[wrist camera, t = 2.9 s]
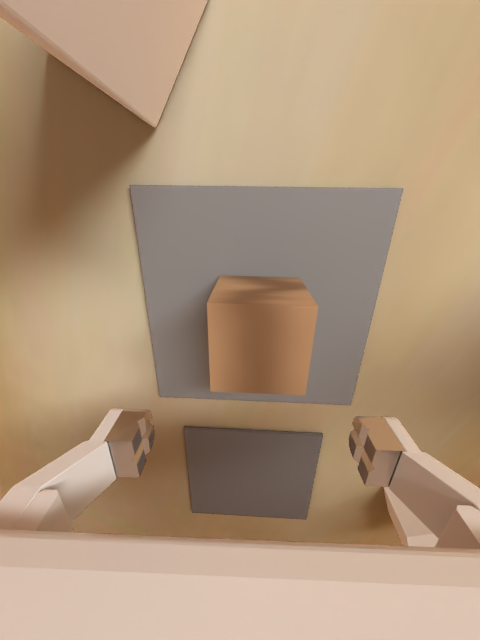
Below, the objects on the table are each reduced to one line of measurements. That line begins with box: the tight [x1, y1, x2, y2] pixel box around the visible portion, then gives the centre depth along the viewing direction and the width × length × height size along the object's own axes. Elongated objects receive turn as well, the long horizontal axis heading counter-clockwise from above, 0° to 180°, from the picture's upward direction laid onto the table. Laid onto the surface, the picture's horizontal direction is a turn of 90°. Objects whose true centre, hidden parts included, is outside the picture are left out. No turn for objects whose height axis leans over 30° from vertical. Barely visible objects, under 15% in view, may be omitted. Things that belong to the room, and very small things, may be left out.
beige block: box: [383, 487, 439, 547], centre depth 27 cm, size 5×5×5 cm
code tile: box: [130, 185, 403, 405], centre depth 21 cm, size 18×18×1 cm
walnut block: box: [207, 275, 318, 395], centre depth 18 cm, size 6×6×6 cm
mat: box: [184, 427, 323, 519], centre depth 29 cm, size 14×14×1 cm
